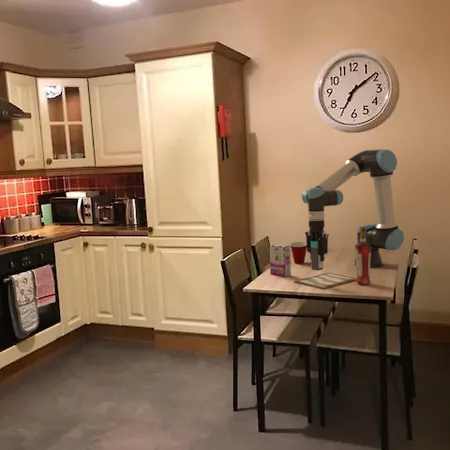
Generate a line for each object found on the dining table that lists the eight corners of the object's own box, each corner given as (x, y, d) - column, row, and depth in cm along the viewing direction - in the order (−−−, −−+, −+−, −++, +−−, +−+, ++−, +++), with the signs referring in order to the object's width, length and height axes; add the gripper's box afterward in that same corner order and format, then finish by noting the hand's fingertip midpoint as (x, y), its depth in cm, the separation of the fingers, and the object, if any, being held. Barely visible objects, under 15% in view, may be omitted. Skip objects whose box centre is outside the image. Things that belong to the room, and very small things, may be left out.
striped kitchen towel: (328, 273, 274) (328, 272, 274) (358, 279, 258) (358, 278, 258) (293, 282, 259) (293, 281, 259) (323, 289, 243) (323, 288, 243)
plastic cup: (288, 265, 301) (288, 244, 299) (291, 261, 311) (290, 241, 309) (307, 265, 298) (306, 244, 296) (309, 261, 308) (309, 241, 306)
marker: (317, 268, 254) (316, 240, 252) (323, 269, 251) (323, 241, 249) (311, 269, 252) (310, 241, 250) (317, 270, 248) (317, 242, 246)
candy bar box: (291, 275, 274) (290, 245, 272) (285, 277, 271) (284, 246, 269) (276, 272, 282) (275, 243, 280) (270, 274, 279) (268, 244, 277)
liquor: (353, 282, 253) (352, 226, 249) (368, 281, 253) (367, 225, 250) (358, 286, 246) (357, 228, 242) (373, 285, 246) (372, 227, 242)
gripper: (298, 219, 253) (299, 265, 256) (324, 221, 239) (325, 270, 242) (309, 217, 257) (310, 263, 260) (335, 220, 243) (335, 268, 246)
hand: (317, 267), depth 251 cm, fingers closed on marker, 4 cm apart
